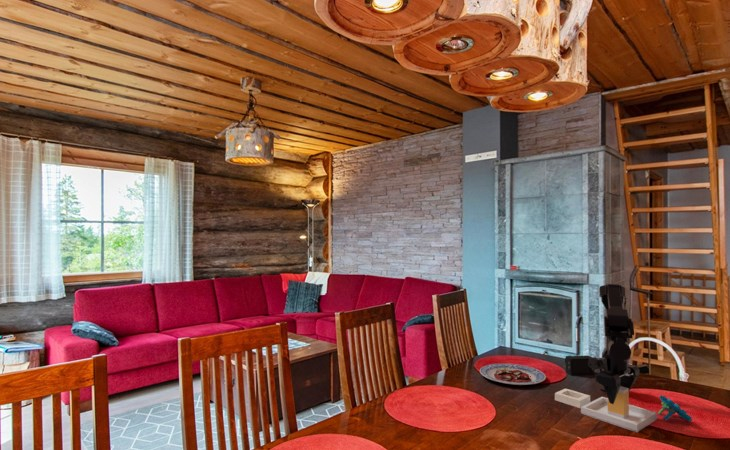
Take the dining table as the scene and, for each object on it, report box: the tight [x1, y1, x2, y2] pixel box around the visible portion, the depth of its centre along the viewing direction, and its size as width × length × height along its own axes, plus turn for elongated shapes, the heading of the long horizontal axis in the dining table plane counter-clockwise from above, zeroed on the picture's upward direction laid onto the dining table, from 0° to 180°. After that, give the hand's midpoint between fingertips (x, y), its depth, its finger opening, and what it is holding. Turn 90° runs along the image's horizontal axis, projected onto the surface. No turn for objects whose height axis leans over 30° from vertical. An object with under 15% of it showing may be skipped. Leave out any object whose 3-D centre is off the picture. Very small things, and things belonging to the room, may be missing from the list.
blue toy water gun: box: [657, 395, 693, 423], centre depth 142 cm, size 11×6×10 cm
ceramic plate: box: [479, 363, 547, 386], centre depth 182 cm, size 26×26×3 cm
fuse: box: [608, 386, 630, 419], centre depth 144 cm, size 4×5×9 cm
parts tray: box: [580, 396, 658, 433], centre depth 144 cm, size 15×17×2 cm
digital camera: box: [564, 354, 595, 376], centre depth 188 cm, size 10×5×7 cm, turn 95°
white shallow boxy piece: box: [554, 388, 591, 409], centre depth 157 cm, size 8×9×2 cm
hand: (618, 400), depth 144 cm, fingers open, 9 cm apart
